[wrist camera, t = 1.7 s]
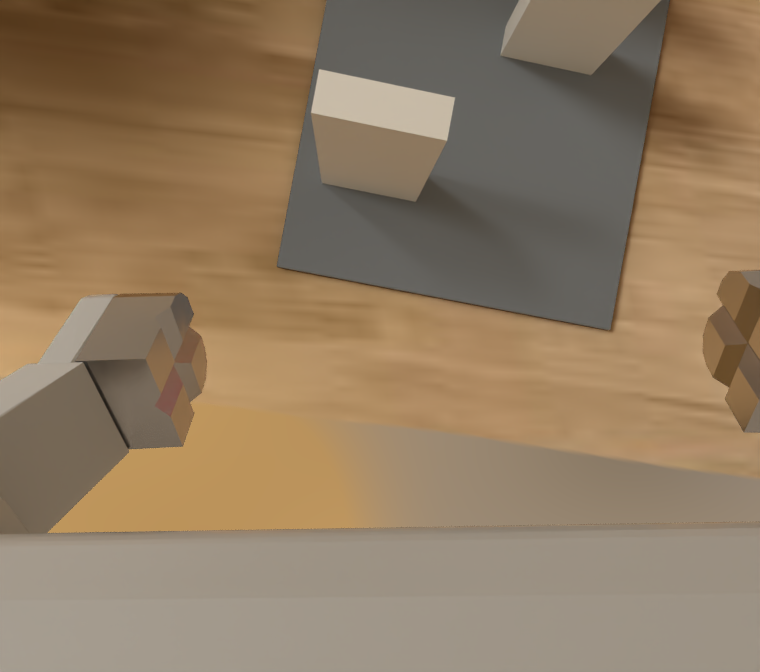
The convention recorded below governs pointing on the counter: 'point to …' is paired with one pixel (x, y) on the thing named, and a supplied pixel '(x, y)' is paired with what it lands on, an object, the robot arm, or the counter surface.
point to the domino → (571, 31)
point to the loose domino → (378, 134)
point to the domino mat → (484, 164)
